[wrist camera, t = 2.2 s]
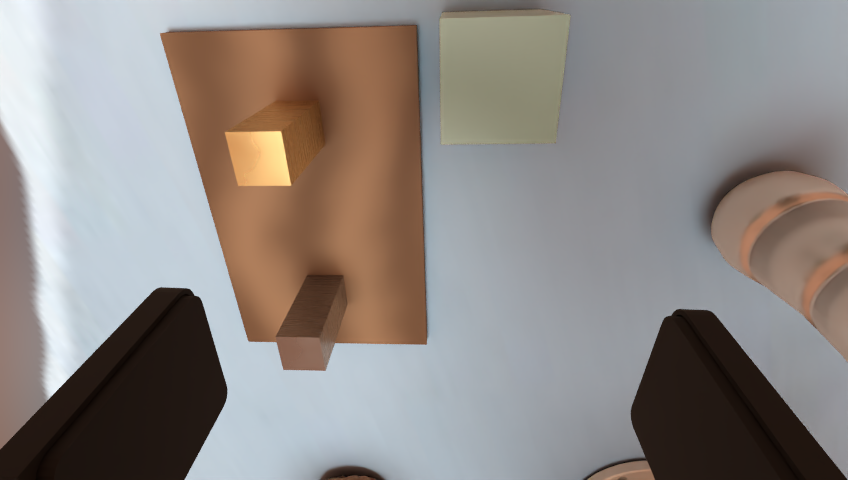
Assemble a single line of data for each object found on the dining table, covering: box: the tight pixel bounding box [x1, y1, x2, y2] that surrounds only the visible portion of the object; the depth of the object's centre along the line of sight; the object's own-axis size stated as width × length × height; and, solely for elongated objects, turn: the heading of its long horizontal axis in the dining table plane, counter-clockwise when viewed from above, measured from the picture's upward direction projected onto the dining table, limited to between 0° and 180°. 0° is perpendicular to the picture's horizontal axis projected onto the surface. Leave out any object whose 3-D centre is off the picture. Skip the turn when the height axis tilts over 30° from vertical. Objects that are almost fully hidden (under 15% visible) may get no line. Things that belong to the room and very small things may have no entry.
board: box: [160, 25, 427, 345], centre depth 30 cm, size 14×22×1 cm, turn 2°
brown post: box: [276, 275, 348, 371], centre depth 29 cm, size 3×3×6 cm
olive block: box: [439, 9, 571, 145], centre depth 22 cm, size 5×5×7 cm
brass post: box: [225, 100, 325, 186], centre depth 23 cm, size 3×3×6 cm
